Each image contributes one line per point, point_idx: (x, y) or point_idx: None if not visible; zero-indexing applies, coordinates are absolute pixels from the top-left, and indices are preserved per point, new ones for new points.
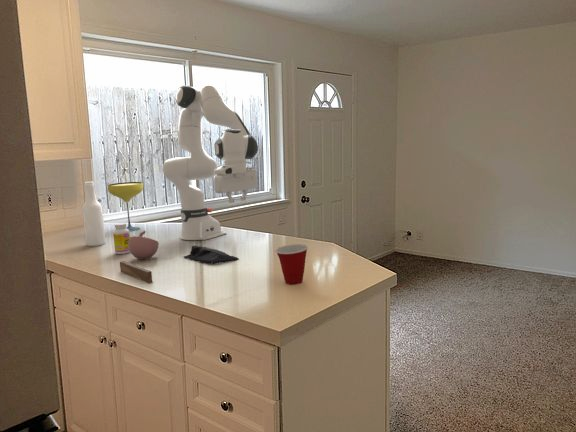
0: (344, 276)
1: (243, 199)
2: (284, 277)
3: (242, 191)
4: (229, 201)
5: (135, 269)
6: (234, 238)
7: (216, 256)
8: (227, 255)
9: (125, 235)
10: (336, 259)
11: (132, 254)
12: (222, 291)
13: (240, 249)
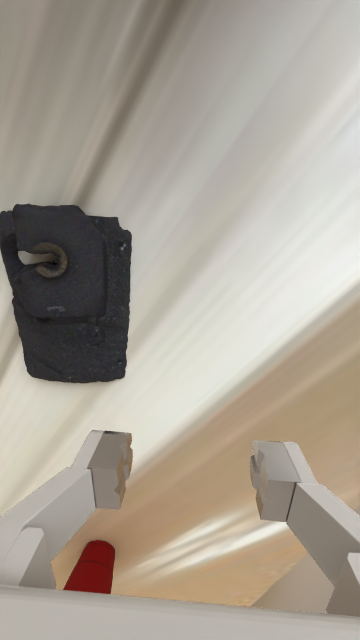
0: (179, 583)
1: (257, 485)
2: (79, 558)
3: (350, 576)
4: (88, 442)
5: None
6: (348, 74)
7: (45, 371)
8: (83, 375)
9: None
10: (265, 535)
11: None
12: None
13: (205, 288)
